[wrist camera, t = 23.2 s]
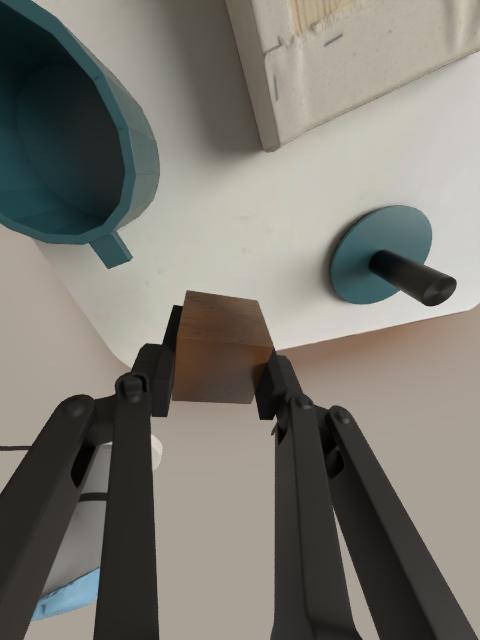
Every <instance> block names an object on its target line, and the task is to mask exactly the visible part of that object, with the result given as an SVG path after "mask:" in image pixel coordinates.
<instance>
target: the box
mask: <svg viewBox="0 0 480 640" xmlns="http://www.w3.org/2000/svg"><path fill="white" fill-rule="evenodd" d="M225 1H226V6H227V9H228V13H229V17H230V21H231V25H232V29H233V32H234V37H235V41H236V45H237V49H238V53H239V56H240V60H241V64H242V68H243V72H244V75H245V79H246V84H247V88H248V91H249V95H250V99H251V103H252V107H253V111H254V115H255V119H256V122H257V126H258V130H259V134H260V139H261V142H262V146H263V149H264V151H265V152H274V151H276V150H277V149H279V148H280V147H281V146H282V145H284V144H285V143H287V142H289V141H291V140H293V139H295V138H296V137H298V136H299V135H300V134H302V133H304V132H306V131H308V130H310V129H312V128H314V127H316V126H318V125H321V124H323V123H325V122H327V121H329V120H331V119H333V118H335V117H338V116H340V115H342V114H344V113H346V112H348V111H350V110H353V109H355V108H357V107H359V106H361V105H364V104H366V103H368V102H370V101H372V100H374V99H377V98H379V97H381V96H383V95H385V94H387V93H389V92H391V91H393V90H395V89H397V88H399V87H401V86H403V85H405V84H407V83H409V82H411V81H413V80H415V79H417V78H420V77H422V76H424V75H426V74H428V73H430V72H432V71H434V70H436V69H438V68H441V67H443V66H445V65H447V64H449V63H451V62H454V61H456V60H458V59H460V58H462V57H465V56H467V55H470V54H472V53H475V52H478V51H480V0H225Z"/></svg>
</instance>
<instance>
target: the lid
mask: <svg viewBox="0 0 480 640" xmlns="http://www.w3.org/2000/svg"><path fill="white" fill-rule="evenodd" d="M431 242H432V230H431V225H430V223H429V220H428V219H427V217H426V216H425V215H424V214H423V213H422V212H421V211H419V210H418V209H416V208H413V207H409V206H403V205H395V206H389V207H385V208H382V209H379V210H377V211H375V212H373V213H371V214H369V215H367V216H366V217H364V218H363V219H361V220H360V221H359V222H358V223H356V224H355V225H354V226H353V227H352V228H351V229H350V230H349V231H348V232H347V234H346V235H345V236H344V237H343V239H342V240H341V242H340V243H339V245H338V247H337V249H336V251H335V253H334V256H333V259H332V263H331V268H330V278H331V283H332V286H333V288H334V290H335V292H336V293H337V294H338V295H339V296H340V297H341V298H342V299H344V300H346V301H348V302H350V303H354V304H371V303H375V302H379V301H381V300H384V299H386V298H388V297H390V296H392V295H394V294H395V293H397V292H398V291H400V290H401V291H403V292H404V293H406V294H408V295H409V296H411V297H413V298H414V299H416V300H417V301H419V302H421V303H422V304H424V305H426V306H436V305H439V304H441V303H443V302H444V301H446V300H447V299H448V298H449V297H450V296H451V295H452V294H453V292H454V291H455V289H456V285H457V282H456V280H455V279H454V278H453V277H450V276H448V275H446V274H444V273H441V272H439V271H437V270H434V269H432V268H430V267H427V266H425V265H423V264H424V262H425V260H426V258H427V256H428V254H429V251H430V247H431Z"/></svg>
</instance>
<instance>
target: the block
mask: <svg viewBox="0 0 480 640" xmlns="http://www.w3.org/2000/svg"><path fill="white" fill-rule="evenodd" d="M273 347H274V346H273V343H272V340H271V337H270V334H269V332H268V329H267V326H266V323H265V320H264V317H263V315H262V312H261V309H260V306H259V303H258V301H256V300H249V299H243V298H236V297H229V296H222V295H216V294H209V293H202V292H195V291H189V290H187V291H186V296H185V300H184V305H183V310H182V314H181V319H180V323H179V328H178V333H177V338H176V351H175V363H174V376H173V389H172V401H191V402H214V403H238V404H251V402H252V400H253V397H254V395H255V391H256V389H257V386H258V384H259V381H260V378H261V376H262V373H263V371H264V368H265V366H266V363H267V362H268V360H269V357H270V355H271V352H272V350H273Z"/></svg>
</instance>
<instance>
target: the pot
mask: <svg viewBox="0 0 480 640" xmlns="http://www.w3.org/2000/svg"><path fill="white" fill-rule="evenodd" d="M159 176H160V164H159V155H158V149H157V143H156V140H155V138H154V135H153V132H152V130H151V127H150V125H149V123H148V121H147V119H146V117H145V115H144V113H143V110H142V108H141V107H140V105H139V104H138V103H137V102H136V101H135V99H134V98H133V97H132V95H131V94H130V93H129V92H128V91H127V90H126V88H125V87H124V86H123V85H122V84H121V82H120V81H119V80H118V79H117V78H116V76H115V75H114V74H113V73H112V72H111V71H110V70H109V69H108V68H107V67H106V66H105V65H104V64H103V63H102V62H101V61H100V60H99V59H98V58H97V57H96V56H95V55H94V54H93V53H92V52H91V51H90V50H89V49H88V48H87V47H86V46H85V45H84V44H83V43H82V42H81V41H80V40H79V39H78V38H77V37H76V36H75V35H74V34H73V33H72V32H71V31H70V30H69V29H68V28H67V27H66V26H65V25H64V24H63V23H62V22H61V21H60V20H59V19H58V18H56V17H55V16H54V15H52V14H51V13H49V12H48V11H46V10H45V9H43V8H42V7H40V6H39V5H37V4H36V3H34V2H33V1H31V0H0V223H1V224H2V225H4V226H5V227H7V228H9V229H11V230H13V231H16V232H19V233H21V234H24V235H27V236H30V237H32V238H35V239H38V240H41V241H43V242H46V243H53V244H78V245H84V244H86V243H89V244H90V245H91V246H92V248H93V249H94V251H95V252H96V253H97V255H98V256H99V257H100V259H101V260H102V261H103V263H104V264H105V266H106V267H107V268H108V269H110V268H112V267H115V266H118V265H120V264H123V263H125V262H128V261H130V260H131V259H132V258H133V256H132V255H131V253H130V252H129V250H128V249H127V247H126V245H125V244H124V242H123V241H122V239H121V238H120V236H119V235H118V233H117V231H116V230H117V229H119V228H121V227H122V226H124V225H126V224H127V223H129V222H131V221H132V220H134V219H136V218H137V217H139V216H140V215H141V214H142V213H143V211H144V210H145V209H146V208H147V207H148V206H149V205H150V203H151V202H152V201H153V199H154V196H155V193H156V190H157V187H158V182H159Z"/></svg>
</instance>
